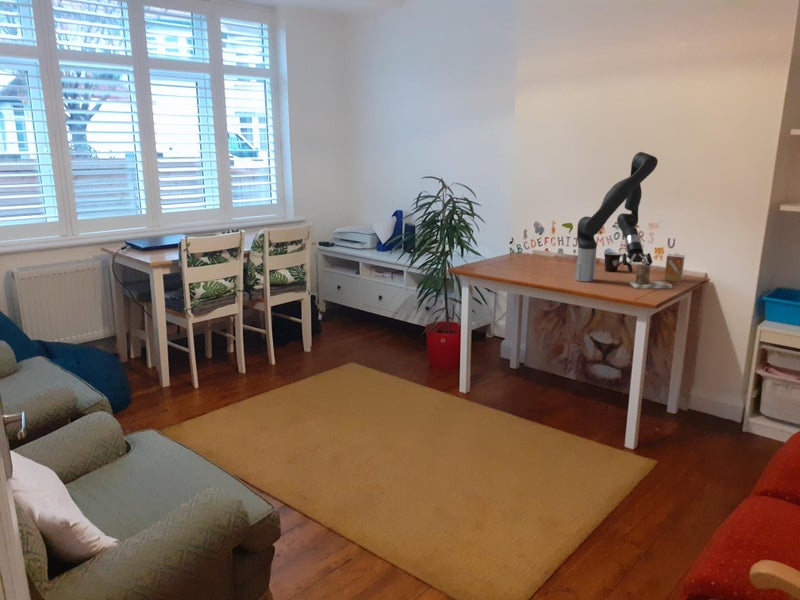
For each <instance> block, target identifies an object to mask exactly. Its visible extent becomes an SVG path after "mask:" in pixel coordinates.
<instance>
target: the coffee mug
mask: <svg viewBox="0 0 800 600" xmlns="http://www.w3.org/2000/svg"><path fill="white" fill-rule="evenodd" d="M622 256H623V254H621V252H614V251H613V252H612V251H610V252H609V251H606V252H604V268H605V269H604V270H605V272H608V273H616V272H618V269H619V266H620V265H621V264H623V260H622V261H620V259H621V258H622Z"/></svg>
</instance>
